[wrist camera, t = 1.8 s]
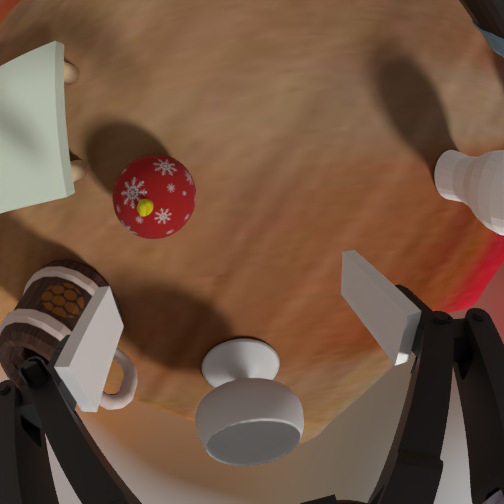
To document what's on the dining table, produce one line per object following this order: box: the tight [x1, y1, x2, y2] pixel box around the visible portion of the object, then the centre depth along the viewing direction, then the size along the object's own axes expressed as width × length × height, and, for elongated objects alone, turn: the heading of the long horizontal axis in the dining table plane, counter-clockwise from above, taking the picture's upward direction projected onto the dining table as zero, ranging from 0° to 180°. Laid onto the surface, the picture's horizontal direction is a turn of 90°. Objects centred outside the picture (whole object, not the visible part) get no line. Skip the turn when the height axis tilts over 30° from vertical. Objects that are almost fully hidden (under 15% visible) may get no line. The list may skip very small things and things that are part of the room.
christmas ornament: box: [113, 154, 196, 239], centre depth 28 cm, size 9×9×10 cm
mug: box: [0, 260, 138, 410], centre depth 31 cm, size 20×15×15 cm
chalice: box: [195, 339, 304, 466], centre depth 38 cm, size 14×14×15 cm
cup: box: [434, 150, 504, 235], centre depth 30 cm, size 11×11×15 cm
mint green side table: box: [0, 41, 87, 213], centre depth 24 cm, size 16×16×8 cm
